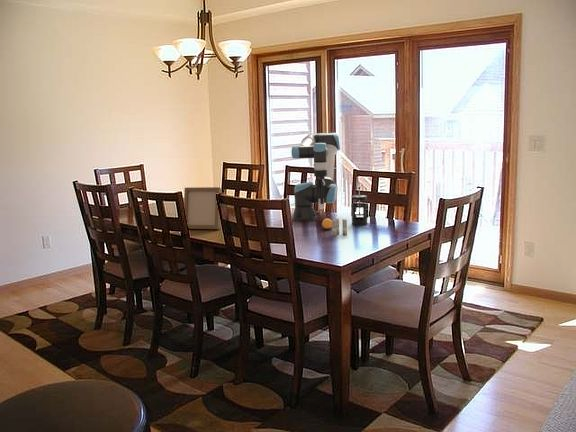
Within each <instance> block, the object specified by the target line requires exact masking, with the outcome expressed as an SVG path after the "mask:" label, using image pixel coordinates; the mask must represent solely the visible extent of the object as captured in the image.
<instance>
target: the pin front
mask: <svg viewBox="0 0 576 432" xmlns="http://www.w3.org/2000/svg"><path fill="white" fill-rule="evenodd" d="M334 220H337V235H340V219H339V218H338V217H337V218H334Z"/></svg>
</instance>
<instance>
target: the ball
mask: <svg viewBox="0 0 576 432" xmlns="http://www.w3.org/2000/svg"><path fill="white" fill-rule="evenodd" d="M321 222H322V223H321V225H322V227H323V228H324V229H326V230H328V229H332V220H331V219H330V218H324V219H323V221H321Z"/></svg>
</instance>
